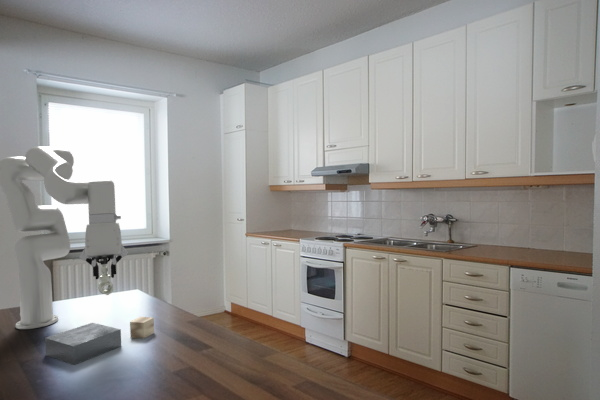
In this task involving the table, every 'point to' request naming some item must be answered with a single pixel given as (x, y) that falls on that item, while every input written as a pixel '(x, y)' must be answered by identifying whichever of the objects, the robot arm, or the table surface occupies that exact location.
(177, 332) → the table surface
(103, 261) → the valve
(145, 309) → the table surface
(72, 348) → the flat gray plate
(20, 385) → the table surface
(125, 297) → the table surface
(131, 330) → the pale wood block
